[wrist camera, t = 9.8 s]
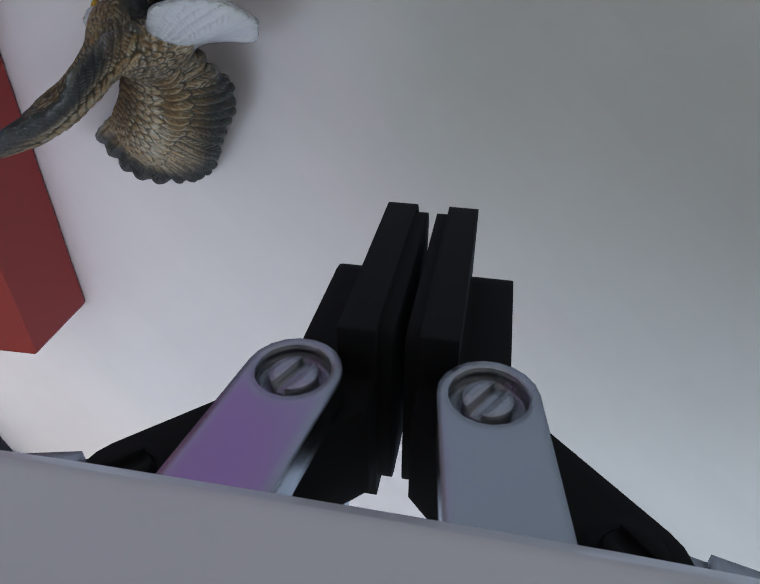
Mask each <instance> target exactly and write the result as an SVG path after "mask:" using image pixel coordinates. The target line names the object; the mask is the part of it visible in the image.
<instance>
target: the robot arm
mask: <svg viewBox="0 0 760 584" xmlns="http://www.w3.org/2000/svg"><path fill="white" fill-rule="evenodd" d="M478 210H479V209H469V208H457V207H449V211H448V214H437V216H436V220H435V224H434V228H433V232H432V235H431V239H430V243H429V247H428V228H429V213H425V212H419V206H418V204H409V203H397V202H389V203H388V205H387V208H386V210H385V212H384V215H383V217H382V220H381V222H380V224H379V227H378V229H377V232H376V234H375V236H374V239H373V241H372V243H371V246H370V248H369V251H368V253H367V255H366V258H365V260H364V263H363V265H362V266H361V265H351V264H340V265H339V266H338V268H337V269H336V271H335V273H334V276H333V278H332V280H331V282H330V284H329V286H328V288H327V290H326V292H325V294H324V296H323V298H322V300H321V303H320V305H319V307H318V309H317V311H316V313H315V315H314V317H313V319H312V321H311V323H310V325H309V328H308V330H307V332H306V334H305V336H304V338H303V339H302V338H297V339H285V340H282V341H278V342H275V343H271V344H269V345H268V346H266V347H264V348H262V349H260V350H259V351H257V352H256V353H255V354H254V355H253V356H252V357H251V358H250V359H249V360H248V361H247V362H246V364H245V365H244V366H243V367H242V369H241V370H240V371H239V372H238V373H237V375H236V376H235V377H234V378H233V380H232V381H231V382H230V383H229V384H228V386H227V387H226V388H225V389H224V391H223V392H222V393H221V394H220V395H219V397H218V398H217V399H216V400H215V401H213V402H211V403H208V404H206V405H203V406H201V407H199V408H196V409H194V410H191V411H189V412H187V413H184V414H182V415H179V416H177V417H175V418H172V419H170V420H167V421H165V422H163V423H160V424H158V425H155V426H153V427H151V428H148V429H146V430H143V431H141V432H139V433H136V434H134V435H131V436H129V437H127V438H124V439H122V440H119V441H117V442H115V443H112V444H110V445H108V446H107V447H105V448H103V449H101V450H99V451H97V452H96V453H95V454H93V455H92V456H91V457H90V458H89V459H85V457H84V454H83V452H82V451H75V452H49V453H17V452H10V451H3V450H0V584H760V572H759V571H756V570H753V569H750V568H748V567H745V566H742V565H739V564H736V563H733V562H731V561H728V560H725V559H722V558H719V557H716V556H714V555H711V556H710V558H709V560H708V562H704V561H701V560H699V559H696V558H693V557H690V556H689V555H688V553H687V551H686V550H685V548H684V547H683V546H682V545H681V544H680V543H679V542H678V541H677V540H676V539H675V538H674V537H673V536H672V535H671V534H670V533H669V532H668V531H667V530H666V529H665V528H663V527H662V526H661V525H660V524H659V523H657V522H656V521H655V520H654V519H653V518H651V517H650V516H649V515H648V514H647V513H645V512H644V511H643V510H642V509H641V508H639V507H638V506H637V505H636V504H635V503H633V502H632V501H631V500H630V499H629V498H627V497H626V496H625V495H624V494H623V493H621V492H620V491H619V490H618V489H617V488H615V487H614V486H613V485H612V484H611V483H609V482H608V481H607V480H606V479H605V478H603V477H602V476H601V475H600V474H599V473H597V472H596V471H595V470H594V469H593V468H591V467H590V466H589V465H588V464H587V463H585V462H584V461H583V460H582V459H581V458H579V457H578V456H577V455H576V454H575V453H573V452H572V451H571V450H570V449H569V448H567V447H566V446H565V445H564V444H563V443H561V442H560V441H559V440H558V439H557V438H555V437H554V436H553V435H552V434H551V433H550V431H549V427H548V423H547V419H546V415H545V411H544V407H543V403H542V399H541V395H540V393H539V391H538V389H537V387H536V385H535V384H534V383H533V382H532V381H531V380H530V379H529V378H528V377H527V376H526V375H525V374H523V373H521V372H520V371H518V370H516V369H515V368H513V367H511V352H512V315H513V281H509V280H499V279H489V278H479V277H472V273H473V262H474V252H475V242H476V232H477V222H478ZM427 249H428V251H427ZM402 432H403V436H402ZM401 436H402V479H409V490H408V497H409V498H410V500H411V501H412V502H413V503H414V504H415V505H416V507H417V508H418V509H419V510H420V511H421V513H422V514H423V515H424V516H425V517H426V518H427V519H424V518H418V517H412V516H406V515H401V514H395V513H389V512H383V511H377V510H371V509H365V508H359V507H353V506H349V501H350V500H352V499H354V498H356V497H358V496H359V495H361V494H363V493H369V494H375V495H377V491H378V487H379V482H380V478H381V475H383V476H390V477H392V475H393V472H394V468H395V463H396V459H397V454H398V450H399V445H400V441H401Z"/></svg>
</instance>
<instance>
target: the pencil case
mask: <svg viewBox="0 0 760 584" xmlns="http://www.w3.org/2000/svg"><path fill="white" fill-rule="evenodd" d="M20 117H21V114H20V111H19V109H18V106H17V103H16V100H15V97H14V94H13V91H12V88H11V85H10V82H9V80H8V77H7V74H6V71H5V68H4V65H3V62H2V59H1V56H0V130H1V129H3V128H4V127H6V126H7V125H8V124H10V123H11V122H13V121H15V120H16V119H18V118H20ZM84 303H85V300H84V297H83V294H82V291H81V289H80V286H79V283H78V280H77V277H76V274H75V271H74V268H73V265H72V262H71V260H70V257H69V254H68V251H67V248H66V245H65V242H64V239H63V236H62V233H61V230H60V228H59V225H58V222H57V219H56V216H55V213H54V210H53V207H52V204H51V201H50V199H49V196H48V193H47V190H46V187H45V184H44V181H43V178H42V175H41V172H40V170H39V167H38V164H37V161H36V158H35V155H34V152H33V149H28V150H25V151H23V152H21V153H18V154H14V155H12V156H9V157H5V158H0V350H4V351H13V352H22V353H31V354H36V353H37V352H38V351H39V350H40V349H41V348H42V347H43V346H44V345H45V344H46V343H47V342H48V341H49V340H50V339H51V338H52V337H53V336H54V335H55V333H56V332H57V331H58V330H59V329H60V328H61V327H62V326H63V325H64V324H65V323H66V322H67V321H68V320H69V319H70V318H71V317H72V316H73V315H74V314H75V313H76V312H77V311H78V310H79V308H80V307H81V306H82V305H83V304H84Z"/></svg>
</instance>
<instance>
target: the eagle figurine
mask: <svg viewBox="0 0 760 584" xmlns="http://www.w3.org/2000/svg"><path fill="white" fill-rule="evenodd" d="M83 22H84V23H85V25H86V32H85V40H84V43H83V46H82V48H81V50H80V52H79V53H78V55H77V57H76V59H75V60H74V62H73V64H72V65H71V66H70V68H69V69H68V70H67V72H66V73H65V74H64V75H63V77H62V78H61V79H60V80H59V81H58V82H57V83H56V84H55V85H53V86H52V87H51V88H49V89H48V90H47V91H46V92H45V93H44V94H42V95H41V96H40V97H39V98H38V99H37V100H36V101H35V102H34V103H33V104H32V105H31V106H30V107H29V108H28V109H27V110H26V111H25V112H24V113H23V114H22V115H21V117H20V118H18V119H16V120H15V121H13V122H11V123H10V124H8V125H7V126H6V127H4V128H3V129H1V130H0V158H5V157H9V156H12V155H14V154H18V153H21V152H23V151H25V150H28V149H32V148H35V147H38V146H40V145H42V144H44V143H46V142H48V141H50V140H52V139H53V138H54V137H56V136H58V135H60V134H61V133H62V132H64V131H66V130H68V129H70V128H71V127H72V125H73V124H74V123H77V122H78V121H79V120H80V119H81V118H82V117H83V116H84V115H86V113H87V112H88V111H89V109H91V108H92V107H94V105H95V104H96V103H97V102H99V101H100V100H101V99H102V97H103V96H104V94H105V93H106V92H107V91H108V89H109V88H110V87H111V86H112V84H114V83H115V82H116V81H117V80H118V79H120V84H119V95H118V98H117V102H116V104H115V106H114V109H113V112H112V116H110V117H109V118H108V119H107V120H106V121H105V122H104V123H103V125H101V126H100V127H99V128H98V131H97V133H96V139H97V140H98V141H99V142H100V143H103V144H104V145H105V147H106V150H107V153H108V155H109V156H111V157H114V158H118V159H119V165H120V167H121V169H122V170H123V171H126V172H133V173H134V176H135V177H136V178H137V179H139V180H146V179H152V180H153V181H154V182H155V183H156V184H164V183H166V182H168V181H169V180H170V179H173V180H174V181H175V182H176V183H179V184H181V183H183V182H184V181H185V180H188V181H189V182H196V181H197V180H200V179H202V178H204V176H205V175H210V174H211V173H212V169H215V168H216V167H217V165H218V164H217V162H216V160H217V159H218V158H219V155H220V153H221V148H220V146H219V145H222V143H223V141H224V137H225V136H226V133H227V130H226V126H228V125H229V124H231V122H232V118H233V116H234V115H235V114H236V108H235V106H236V99H235V97H234V91H235V86H234V84H233V83H231V82H230V79H229V76H228V75H226V74H220V73H219V72H218V69H217V68H216V66H215V65H213V64H211V63H206V56H205V54H204V53H203V52H202V51H201V50H199V49H198V47H200V46H202V45H204V44H208V43H218V42H241V43H250V42H253V41H255V40H256V39H257V38H258V36H259V33H258V25H259V21H258V19H257V18H255V17H253V16H251V15H249V14H248V13H247V12H246V11H245V10H243V9H241V8H239V7H237V6H235V5H234V4H232V3H230V2H228V1H226V0H149V1H147V0H102V1H100V2H97V0H93V1H92V3H91V7H90V8H89V9H88V10H87V11H86V14H85V16H84V18H83Z"/></svg>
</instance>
